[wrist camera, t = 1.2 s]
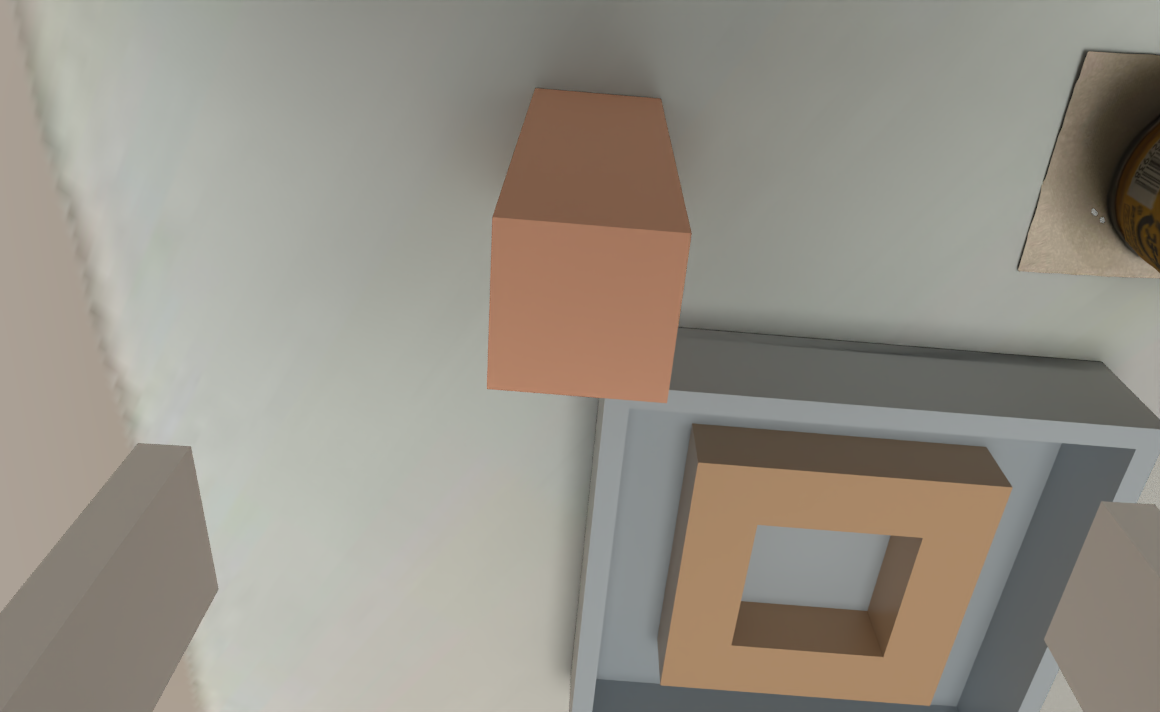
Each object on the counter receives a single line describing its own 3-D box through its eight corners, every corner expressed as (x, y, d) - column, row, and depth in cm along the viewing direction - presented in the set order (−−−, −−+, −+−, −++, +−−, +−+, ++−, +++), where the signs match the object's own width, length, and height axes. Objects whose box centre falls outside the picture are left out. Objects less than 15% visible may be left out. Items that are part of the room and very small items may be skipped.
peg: (535, 88, 29) (492, 216, 18) (660, 98, 29) (691, 233, 18) (529, 208, 30) (486, 389, 20) (646, 218, 31) (666, 403, 20)
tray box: (606, 321, 32) (606, 385, 28) (1102, 361, 33) (1170, 430, 29) (570, 675, 41) (566, 762, 37) (963, 705, 41) (1000, 794, 37)
